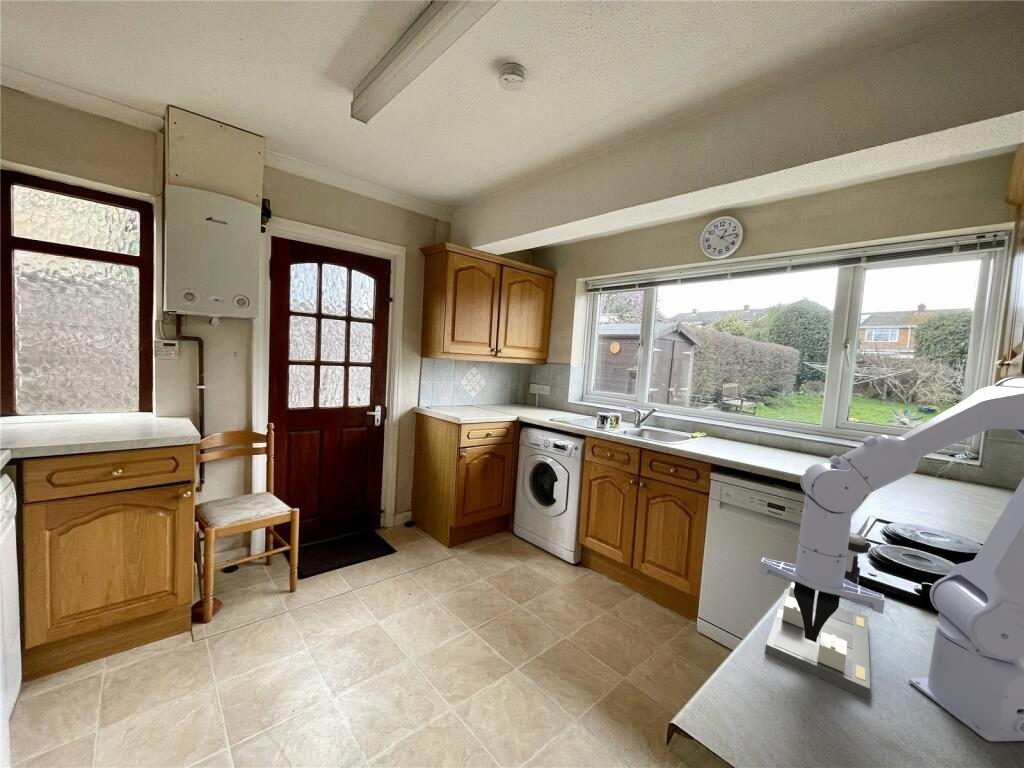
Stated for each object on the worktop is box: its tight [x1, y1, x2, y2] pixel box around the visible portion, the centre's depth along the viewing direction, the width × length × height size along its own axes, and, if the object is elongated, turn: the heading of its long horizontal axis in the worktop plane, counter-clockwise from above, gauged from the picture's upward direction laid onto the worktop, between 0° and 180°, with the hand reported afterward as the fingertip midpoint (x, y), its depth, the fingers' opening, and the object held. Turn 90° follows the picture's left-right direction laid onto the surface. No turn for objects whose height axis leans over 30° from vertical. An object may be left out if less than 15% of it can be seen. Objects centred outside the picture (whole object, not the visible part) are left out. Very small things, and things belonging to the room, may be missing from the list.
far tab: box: [789, 582, 796, 599], centre depth 77 cm, size 4×3×3 cm
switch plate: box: [764, 588, 871, 700], centre depth 68 cm, size 22×12×2 cm, turn 141°
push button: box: [844, 532, 872, 585], centre depth 87 cm, size 7×5×10 cm
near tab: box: [817, 632, 847, 672], centre depth 61 cm, size 4×3×3 cm
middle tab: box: [782, 596, 804, 628], centre depth 70 cm, size 4×3×3 cm
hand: (810, 637), depth 63 cm, fingers closed
